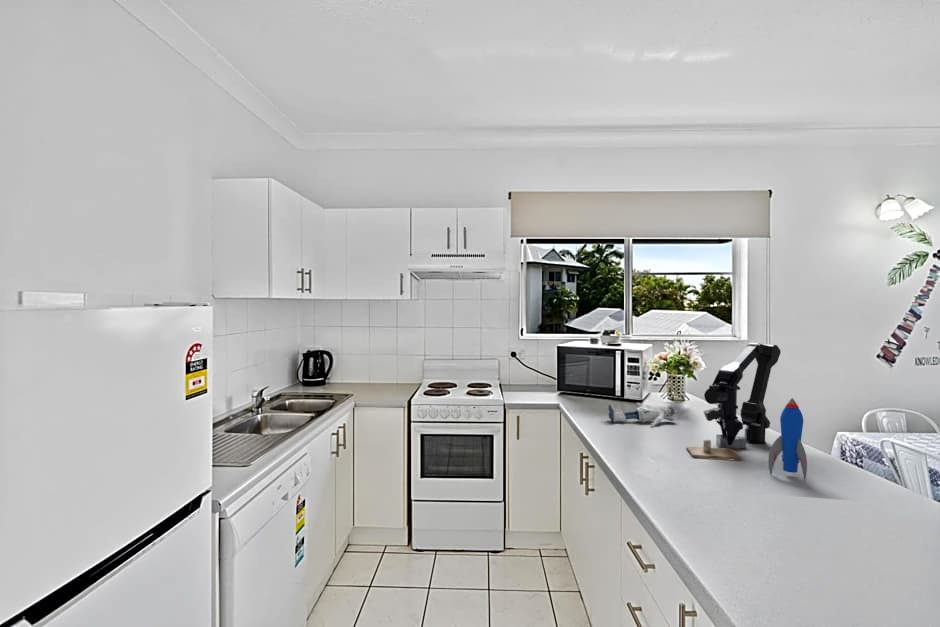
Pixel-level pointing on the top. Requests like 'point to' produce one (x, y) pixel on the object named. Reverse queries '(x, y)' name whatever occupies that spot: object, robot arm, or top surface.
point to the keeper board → (712, 452)
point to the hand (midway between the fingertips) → (727, 442)
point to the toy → (643, 414)
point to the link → (737, 443)
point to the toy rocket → (790, 441)
